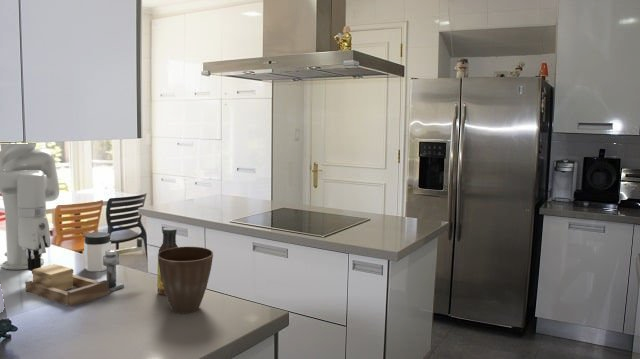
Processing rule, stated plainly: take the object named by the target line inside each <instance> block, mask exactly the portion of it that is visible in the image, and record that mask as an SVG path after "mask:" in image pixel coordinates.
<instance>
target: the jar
mask: <svg viewBox="0 0 640 359" xmlns="http://www.w3.org/2000/svg"><path fill="white" fill-rule="evenodd" d="M107 250H112V241H111V233H109V232H104V231H103V232H102V231H101V232H100V231H97V232H89V233H86V234H85V235H84V242H83V256H84V257H83V258H84V263H83V265H84V269H85V270H86V271H87V272H103V271H106V266H104V265H103V256H105V251H107Z"/></svg>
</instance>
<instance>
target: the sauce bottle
mask: <svg viewBox="0 0 640 359" xmlns="http://www.w3.org/2000/svg"><path fill="white" fill-rule="evenodd" d="M176 239H177V228H175V227H164V228H162V244H161V246H160V247H159V248H158V253H159V252H161V251H163V250H166V249H170V248H176V247H179V246H178V244H177V240H176ZM156 274H157V276H156V278H157V280H156V281H157V282H156V287H157V291H156V292H157V293H158V294H160V295H165V296H166V293H165V289H164V286H163V282H162V278H161V273H160V268H159V261H158V260H157V272H156Z"/></svg>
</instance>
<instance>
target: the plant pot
mask: <svg viewBox="0 0 640 359" xmlns="http://www.w3.org/2000/svg"><path fill="white" fill-rule="evenodd" d="M213 258H214V252H213V250H211V249H209V248H205V247H200V246H178V247H176V248H170V249H166V250H163V251H161V252H159V251H158V253H157V262H158V261H159V268H160V273H161V278H162V282H163V286H164V289H165V293H166V295H165V296H166V298H167V300H168V301H167V302H168V303H169V306H170V309H171V311H172V312H175V313H177V314H191V313H194V312H196V311H198V310H199V308H200V307H201V304H202V301H203V298H204V296H205V292H206V289H207V286H208V283H209V278H210V275H211V270H212V265H213Z"/></svg>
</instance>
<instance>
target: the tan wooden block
mask: <svg viewBox="0 0 640 359" xmlns="http://www.w3.org/2000/svg"><path fill="white" fill-rule="evenodd" d="M31 274H32V281H33V282H37V283H40V284H43V285H46V286H50V287H53V288H56V289H60V290H63V291H66V290H69V289H73V288H74V287H73V275H74V269H73V268H71V267H66V266H63V265H61V264H56V263H53V264H49V265H45V266H41V268H37V269H33V271H31Z"/></svg>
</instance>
